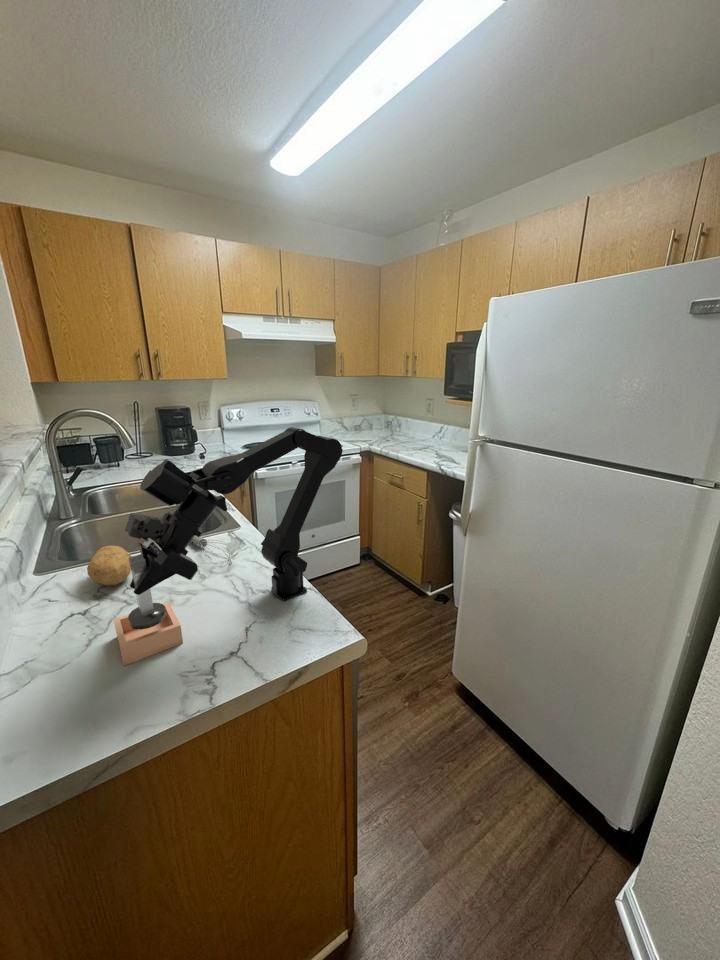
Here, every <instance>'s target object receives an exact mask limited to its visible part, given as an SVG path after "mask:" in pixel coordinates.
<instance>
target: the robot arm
mask: <svg viewBox="0 0 720 960" xmlns="http://www.w3.org/2000/svg"><path fill="white" fill-rule="evenodd" d="M298 448H299V449H301V450H303V451H305V452H304V468H303V469H304V470H303V472H302V474H301V477H300V479H299V481H298V483H297V485H296V488H295V490H294V492H293V494H292V497H291V499H290V501H289V504H288V506H287V508H286V509H285V510H286V511H285V512H284V516H283V517H282V520H281V522H280V524H279V525H277V527H276V528H274V530H273V529H270V528H268V529H267V531H266V533H265V536H264V539H263V541H262V542H261V543H260V545H261V550H260V552H261V555H262V557H263V558H264V560H266V561H267V562H268V563H270V565H272V566H273V567H274V568H272V575H271V588H270V589H271V591H272V592H273V593H274V594H275V595H276V596H277V597H278V598H279V599H280V600H282V601H287V600H290V599H292V598H295V597H297V596H299V595H303V594H304V593H305V594H306V593H307V592H308V589H307V588H306V587H305V586H304V572H306V570H307V567H308V562H307V561H306V560H304V559H302V558H301V557H300V556H299V553H300V552H299V551H300V548H301V541H300V540H301V537H300V536H301V535H300V534H301V530H302V528H303V526H304V524H305V521H306V519H307V518H308V514H309V513H310V509H311V508H312V505H313V503H314V501H315V498H316V496H317V494H318V492H319V490H320V487H321V484H322V482H323V480H324V478H325V477H326V476H327V475H328V474H329V473H330V472H331V471H332V470H334V469H335V468H336V466H337V465H338V463H339V461H340V459H341V457H342V455H343V451H344V450H343V448H342V444H341V442H340V441H339V440H338V439H336V438H332V437H327V436H323V435H315V434H313V433H310V432H308V431H307V430H305V429H303V428H298V427H294V426H291V427H288V428H286V429H285V430H284V431H282V432H280V433H278V434H277V435H275V436H272V437H271V438H268V439H267V440H264V441H263V442H261V443H259V444H257V445H255V446H253V447H251V448H249V449H247V450H245V451H243V452H241V453H238V454H234V455H233V454H232V455H227V456H222V457H220V458H217V459H213V460H211V461H208V462H207V463H205V464H204V465H203V467H201V468H198V469H195V470H192V471H187V472H185V471H183V470H182V469H180V468H179V467H178V466H177V465H176V464H175V463H173V461H171V460H169V459H168V458H165V459H164V460H163V461H162V462H161V463H159V464H158V465H156V466H155V467H153V468H152V469H150V470H149V471H148V472H147V473H146V475H145V476H144V477H143V479H142V481H141V483H140V486H139V488H140V489H139V490H141V491H143V492H145V493H146V494H148V495H150V496H151V497H153V498H155V499H157V500H158V501H160V503H163V504H165V505H167V506H168V507H172V506H174V505H176V506H177V507H176V508H175V510H174V511H173V512H172V513H171V512H170V511H168V512H166V513H164V515H163V516H162V517H157V516H154V515H150V514H149V515H148V514H142V513H135V512H130V513H129V516H128V519H127V522H126V525H125V528H124V531H125V532H127V533H128V536H129V537H131V538H135V539H139V540H140V539H143V540H145V541H144V542H143V543H141V542H138V543H137V544H138V545H137V546H138V547H139V552H140V554H141V555H142V556H143V557H144V559H145V560H146V566H147V569H146V571H145V572H144V574H143V576H142V577H141V579H140V581H139V582H138V584H137V586H136V588H135V587H134V581H133V578H132V579H131V582H130V584H129V587H130V588H131V589H134V590H133V593H134V595H136V594H137V595H140V594H142V593H143V592H145V591H147V590H148V589H150V590H151V589H152V588H153V587H155V586H157V585H158V584H160V583H162V582H163V581H165V580H167V579H169V578H171V577H174V576H175V575H177V576H178V575H179V576H180V577H182V578H185V579H187V580H189V581H192V580H193V578H194V577H195V575H196V574H197V573H198V571H199V570H198V564H197V563H196V561H194V559H192V557H190V556H188V555H187V554H188V553H189V550H188V549H187V547H188V546H189V544H190V543H192V542H191V540H192V539H193V538H194V536H197V537H201V535H202V534H203V532H202V531H200V530H201V528H202V526H203V525H204V524H205V523H206V522H207V520H208V519H209V518H210V516H211V515H212V513H213V512H214V510H215V509H216V508H218V509H220V510H222V511H224V512H227V511H228V507H227V503H226V499H227V498H226V497H225V496H224V495H229V494H231V493H233V492H235V491H236V490H237V489H239V488H240V487H241V486H242V485H244V484H245V483H246V482H247V481H248V479H249V478H250V477H251V476H252V475H253V474H254V473H255V472H256V471H259V470H260V469H262V468H264V467H265V466H268V465H269V464H271V463H273V462H274V461H276V460H278V459H280V458H282V457H284V456H286V455H287V454H289V453H291V452H293V451H295V450H297V449H298ZM194 485H196V486H197V487H198V488H200V489H201V490H200V491H199V490H198V489H195V488H194V487H193V486H194ZM211 491H214V492H215V493H218V494H220V495H215V494H213V493H212V492H211Z"/></svg>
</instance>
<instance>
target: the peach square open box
mask: <svg viewBox="0 0 720 960" xmlns="http://www.w3.org/2000/svg"><path fill="white" fill-rule="evenodd" d="M161 604H163V605H164V606H165V612H166V617H165V619H164V620H163V621H162V622H160V623H159V624H157V625H155V626H153V627H151V628H147V629H140V630H138V629H133V628H131V627H130V624H129V619H128V616H129V614H130V613H129V614H126V615H122V616H120V617H117V618H114V619H113V623H114V629H115V634H116V638H117V642H118V647H119V651H120V654H121V660H122V663H123V666H124V667H125V666H128V665H130V664H133V663H135V662H137V661H141V660H142V659H145V658H148V657H151V656H153V655H156V654H157V653H162V652H163V651H166V650H168V649H171V648H174V647H177V646H180V645H181V644H183V643H184V640H183V634H182V633H183V632H182V627H181V624H180V621H179V618H178V617H177V616H176V615H177V614H175V611H174V609H173V607H172V606H171V604H170V602H169V601H166V602H163V603H161Z"/></svg>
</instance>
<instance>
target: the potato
mask: <svg viewBox="0 0 720 960" xmlns="http://www.w3.org/2000/svg"><path fill="white" fill-rule="evenodd" d="M129 557H133V556H132V555H131V553H130V552H128V551H127V550H125V549H124V548H123V547H122V546H118V545H105V546H103V547H100V548H99V549H98V550H96V552H95V553H94V555H93V557H92V558H91V560H90V561H89V562H88V565H87V566H86V567H87V568H86V569H87V570H86V571H87V576H88V577H89V578H90V579H91V580H92V581H93V582H94V583H95V582H96V583H99V584H101V585H104V586H117V585H118V584H121V583H123V582H124V581H126V580H127V578H128V577H129V575H130V573H132V571H131V568H130V563H129Z"/></svg>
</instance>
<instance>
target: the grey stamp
mask: <svg viewBox="0 0 720 960" xmlns="http://www.w3.org/2000/svg"><path fill="white" fill-rule="evenodd" d="M129 563H130V568H131V575H132V579H133V581H134V587H135V588H136V586H137V584H138V582H139V581H140V579H141V577H142V576H143V574H144V572H145V571H146V569H147V566H146V560H145V559H144V557H143V556H142V555H141V553H139V554H136V555H134V556H132V557H129ZM135 595H136V596H135V597H136V602H137V607H135V608H134V609H133V610H131V612H130V613H129V616H128V619H129V624H130V627H131V628H133V629H138V630H140V629H147V628H151V627H153V626H155V625H157V624H159V623H160V622H162V621H163V620H164V619H165V617H166V612H165V606H164V605H163V604H162V603H160V602H153V596H152V591H151V588H150V589H148V590H147V591H145V592H143V593H142V594H140V595H137V594H135Z"/></svg>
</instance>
